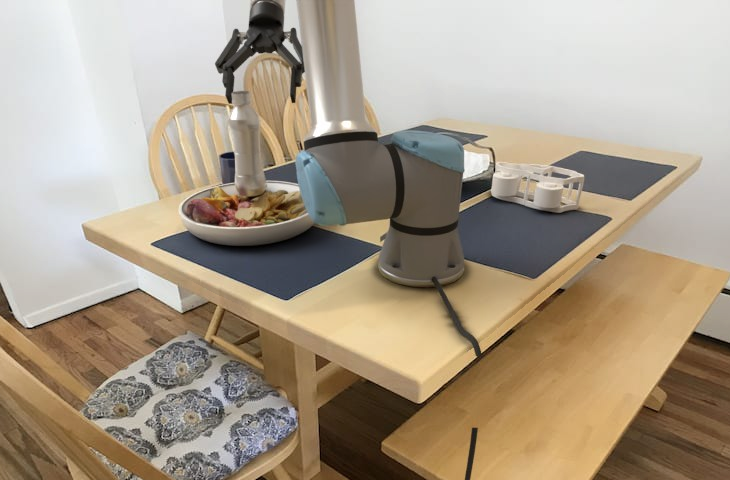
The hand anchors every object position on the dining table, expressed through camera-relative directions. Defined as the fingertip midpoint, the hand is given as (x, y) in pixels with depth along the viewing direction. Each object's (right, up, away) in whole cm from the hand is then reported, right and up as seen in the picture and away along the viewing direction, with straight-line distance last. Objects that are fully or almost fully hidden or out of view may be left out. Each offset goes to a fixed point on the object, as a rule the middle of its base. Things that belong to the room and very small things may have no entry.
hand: (260, 99), depth 115 cm
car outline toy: (+61, -19, +12) cm, 65 cm away
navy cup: (-9, -13, +23) cm, 28 cm away
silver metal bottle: (-2, -20, +1) cm, 20 cm away
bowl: (-2, -25, +4) cm, 26 cm away
